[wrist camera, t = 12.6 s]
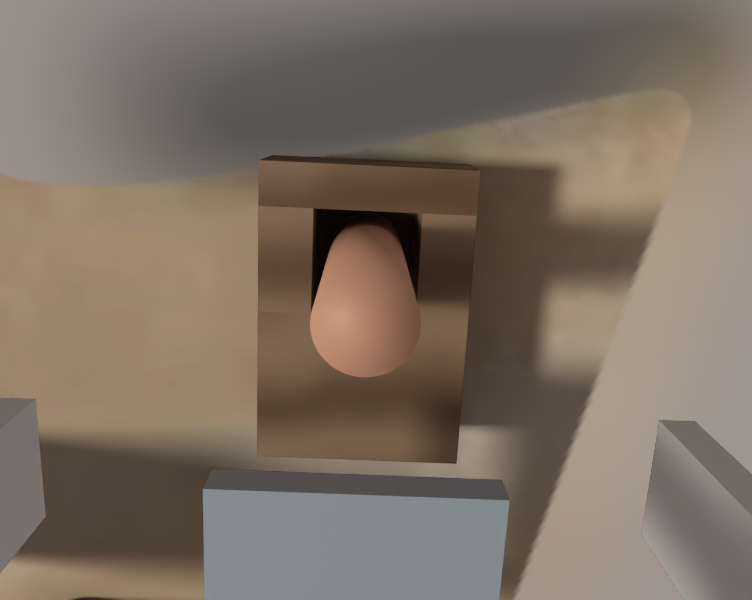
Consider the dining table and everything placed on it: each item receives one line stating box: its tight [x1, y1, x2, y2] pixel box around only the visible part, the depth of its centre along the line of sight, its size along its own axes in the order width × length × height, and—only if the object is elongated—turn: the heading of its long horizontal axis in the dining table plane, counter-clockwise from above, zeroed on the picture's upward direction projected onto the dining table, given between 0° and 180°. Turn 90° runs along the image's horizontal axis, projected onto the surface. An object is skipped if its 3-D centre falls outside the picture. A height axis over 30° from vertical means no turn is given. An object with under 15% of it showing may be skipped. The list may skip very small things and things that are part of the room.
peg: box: [310, 213, 421, 377], centre depth 33 cm, size 4×4×16 cm
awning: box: [203, 469, 510, 600], centre depth 37 cm, size 16×12×16 cm
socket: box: [257, 155, 481, 464], centre depth 39 cm, size 16×11×5 cm
